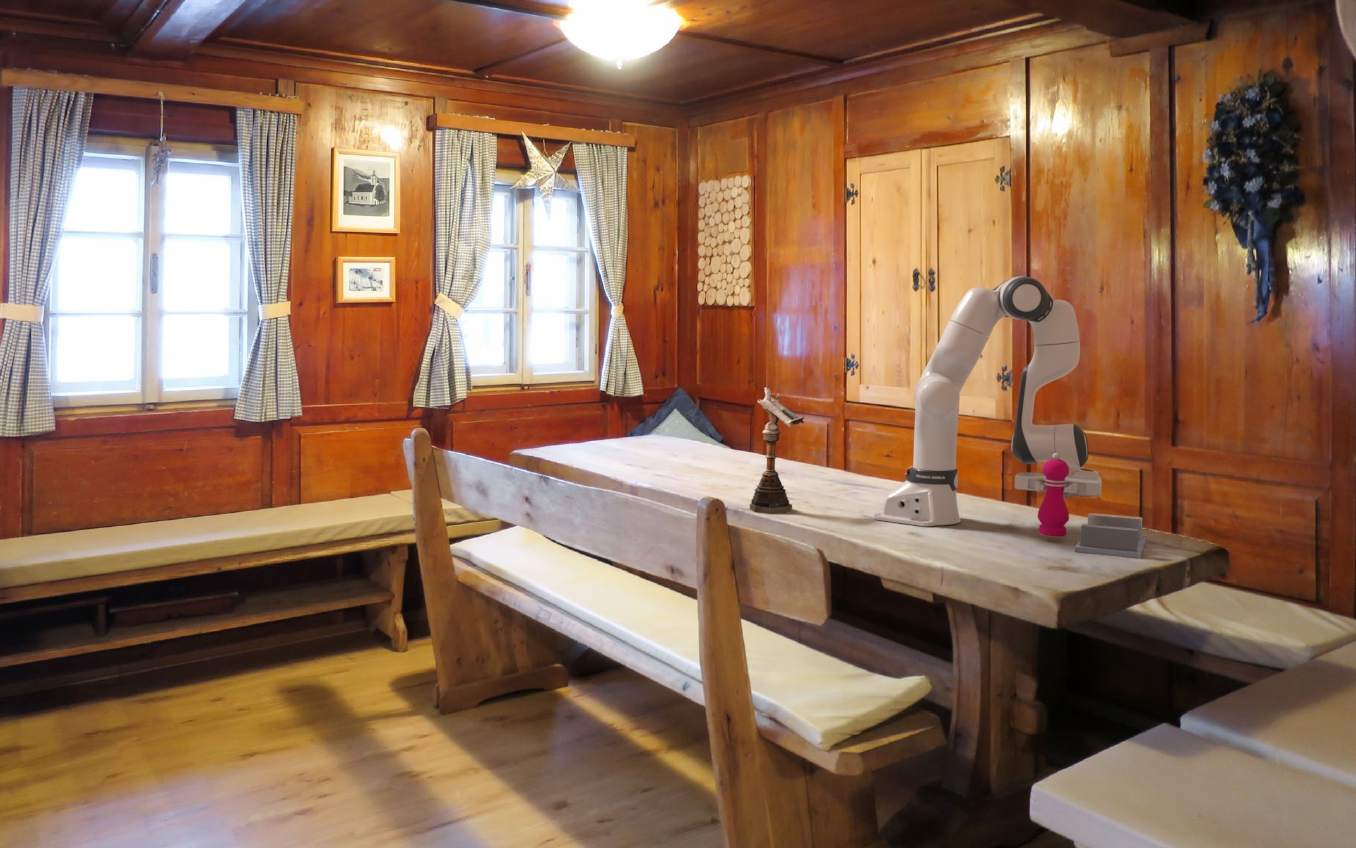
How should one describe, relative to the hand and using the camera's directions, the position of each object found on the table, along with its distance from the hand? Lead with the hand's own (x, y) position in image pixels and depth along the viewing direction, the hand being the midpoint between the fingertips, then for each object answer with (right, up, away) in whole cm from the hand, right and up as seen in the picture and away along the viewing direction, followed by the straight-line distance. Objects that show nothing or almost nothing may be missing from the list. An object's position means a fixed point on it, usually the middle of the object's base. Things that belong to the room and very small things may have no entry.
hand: (1053, 488), depth 246 cm
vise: (+12, -13, -4) cm, 19 cm away
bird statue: (-62, -9, +41) cm, 75 cm away
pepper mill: (0, -11, +2) cm, 12 cm away
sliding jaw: (+15, -12, +2) cm, 19 cm away
